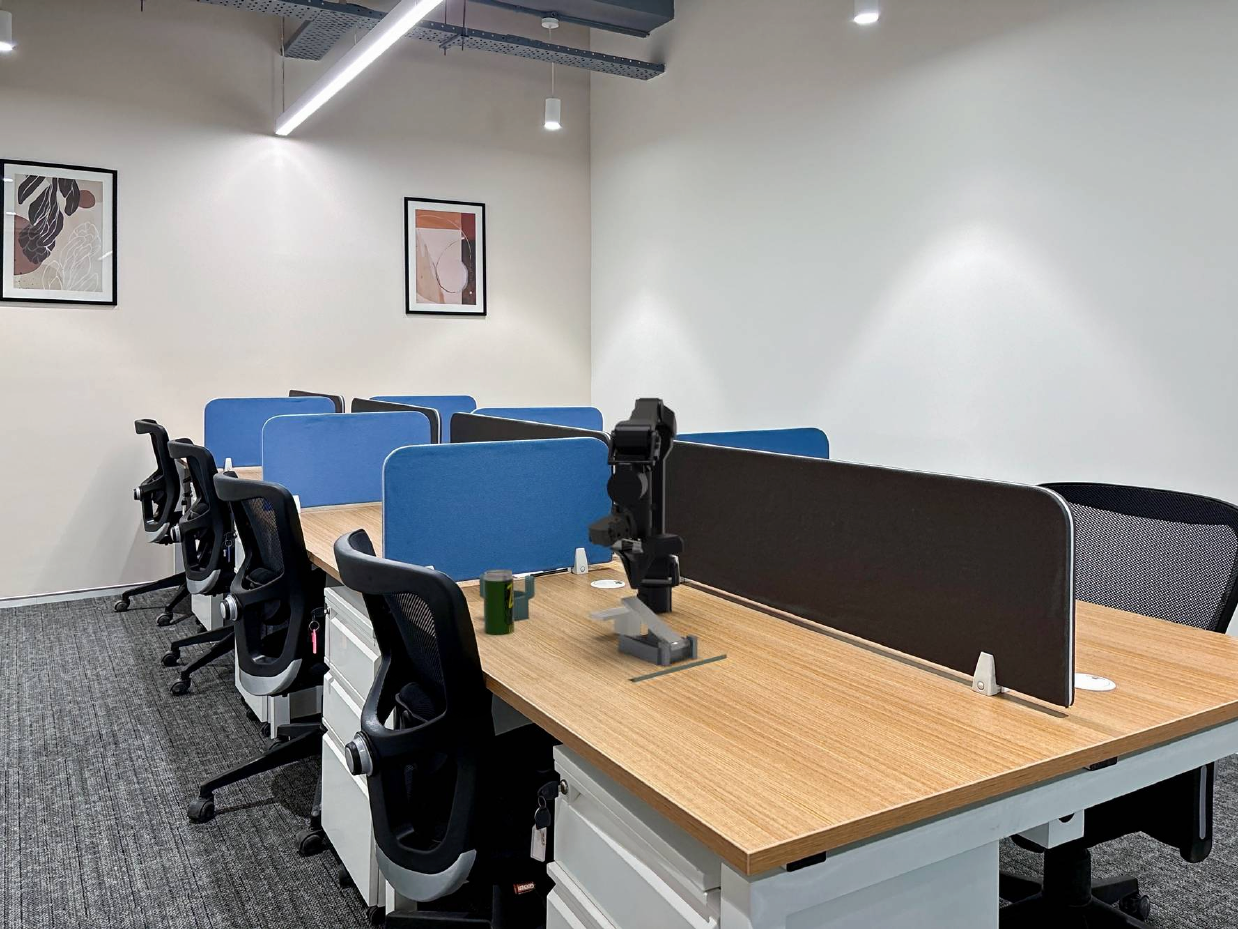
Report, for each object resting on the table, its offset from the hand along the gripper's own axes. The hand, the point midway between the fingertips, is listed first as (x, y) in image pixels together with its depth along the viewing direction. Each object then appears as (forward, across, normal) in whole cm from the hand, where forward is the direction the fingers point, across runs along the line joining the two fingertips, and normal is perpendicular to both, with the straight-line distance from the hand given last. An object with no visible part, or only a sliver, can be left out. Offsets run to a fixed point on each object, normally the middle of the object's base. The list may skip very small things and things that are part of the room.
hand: (634, 589), depth 158 cm
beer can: (+11, -23, -13) cm, 29 cm away
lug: (+10, -7, +1) cm, 12 cm away
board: (+11, 0, 0) cm, 11 cm away
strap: (+5, +5, 0) cm, 7 cm away
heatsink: (+10, +6, 0) cm, 12 cm away
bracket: (+11, -33, -5) cm, 35 cm away
